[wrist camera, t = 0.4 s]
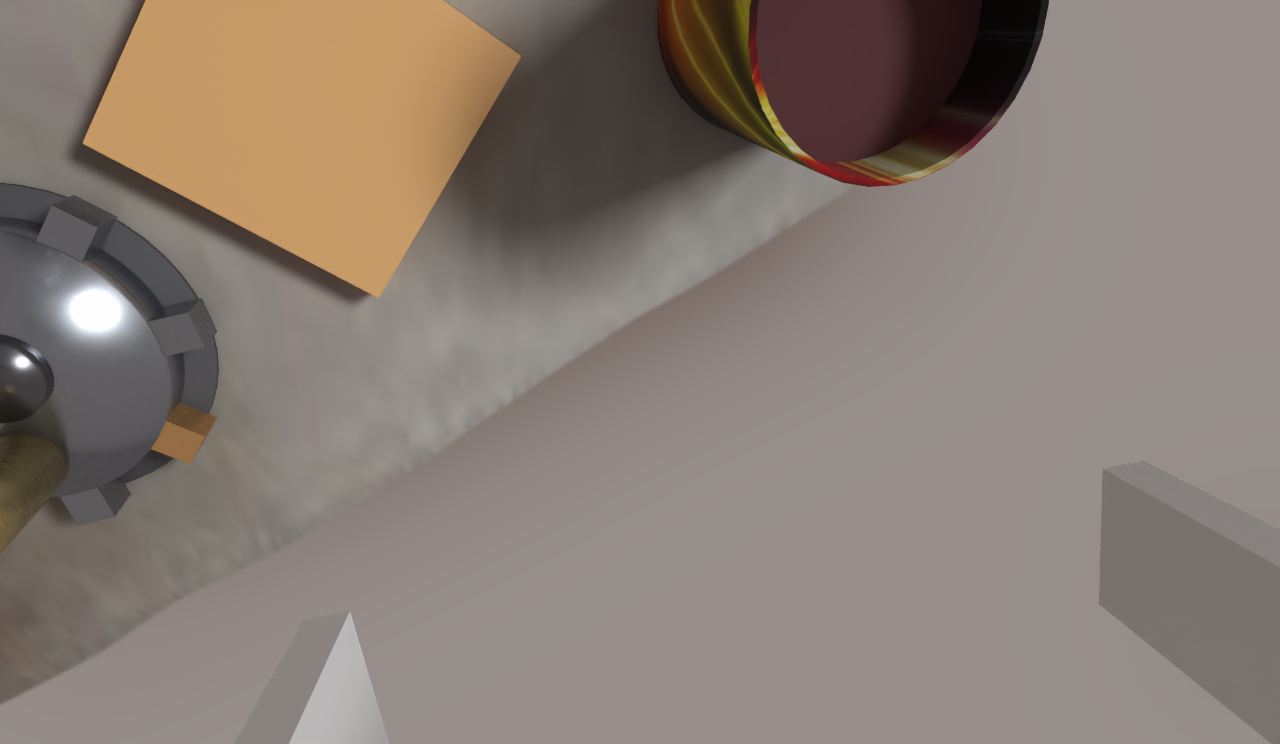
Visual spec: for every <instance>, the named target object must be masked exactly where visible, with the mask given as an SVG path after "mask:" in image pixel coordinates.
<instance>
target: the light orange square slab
mask: <svg viewBox="0 0 1280 744" xmlns="http://www.w3.org/2000/svg"><path fill="white" fill-rule="evenodd" d="M520 58H521V55H519V54H518V53H517V52H515V51H514V50H512V49H511V48H510V47H508V46H507V45H505V44H504V43H503V42H501V41H500V40H498V39H497V38H496V37H494V36H493V35H491V34H490V33H489V32H487V31H486V30H484V29H483V28H482V27H480V26H479V25H477V24H476V23H475V22H473V21H472V20H470V19H469V18H468V17H466V16H465V15H463V14H462V13H461V12H459V11H458V10H456V9H455V8H454V7H452V6H451V5H449V4H448V3H447V2H445V1H444V0H145V3H144V5H143V7H142V9H141V12H140V14H139V16H138V18H137V21H136V23H135V25H134V28H133V30H132V32H131V34H130V37H129V39H128V41H127V43H126V46H125V48H124V50H123V52H122V55H121V57H120V59H119V61H118V64H117V66H116V68H115V71H114V73H113V75H112V77H111V80H110V82H109V84H108V86H107V89H106V91H105V93H104V95H103V98H102V100H101V102H100V104H99V107H98V109H97V111H96V114H95V116H94V118H93V120H92V123H91V125H90V127H89V129H88V132H87V134H86V136H85V138H84V141H83V143H82V144H84V145H86V146H88V147H90V148H92V149H94V150H96V151H98V152H100V153H102V154H104V155H105V156H107V157H109V158H111V159H113V160H115V161H117V162H119V163H121V164H123V165H125V166H127V167H128V168H130V169H132V170H134V171H136V172H138V173H140V174H142V175H144V176H146V177H148V178H149V179H151V180H153V181H155V182H157V183H159V184H161V185H163V186H165V187H167V188H169V189H171V190H172V191H174V192H176V193H178V194H180V195H182V196H184V197H186V198H188V199H190V200H192V201H194V202H195V203H197V204H199V205H201V206H203V207H205V208H207V209H209V210H211V211H213V212H215V213H216V214H218V215H220V216H222V217H224V218H226V219H228V220H230V221H232V222H234V223H236V224H238V225H239V226H241V227H243V228H245V229H247V230H249V231H251V232H253V233H255V234H257V235H259V236H261V237H262V238H264V239H266V240H268V241H270V242H272V243H274V244H276V245H278V246H280V247H282V248H283V249H285V250H287V251H289V252H291V253H293V254H295V255H297V256H299V257H301V258H303V259H305V260H306V261H308V262H310V263H312V264H314V265H316V266H318V267H320V268H322V269H324V270H326V271H327V272H329V273H331V274H333V275H335V276H337V277H339V278H341V279H343V280H345V281H347V282H349V283H350V284H352V285H354V286H356V287H358V288H360V289H362V290H364V291H366V292H368V293H370V294H372V295H373V296H375V297H377V298H379V297H380V295H381V294H382V292H383V290H384V289H385V287H386V285H387V283H388V282H389V280H390V278H391V277H392V275H393V273H394V272H395V270H396V268H397V267H398V265H399V263H400V261H401V260H402V258H403V256H404V255H405V253H406V251H407V250H408V248H409V246H410V244H411V243H412V241H413V239H414V238H415V236H416V234H417V233H418V231H419V229H420V228H421V226H422V224H423V222H424V221H425V219H426V217H427V216H428V214H429V212H430V211H431V209H432V207H433V205H434V204H435V202H436V200H437V199H438V197H439V195H440V194H441V192H442V190H443V189H444V187H445V185H446V183H447V182H448V180H449V178H450V177H451V175H452V173H453V172H454V170H455V168H456V167H457V165H458V163H459V161H460V160H461V158H462V156H463V155H464V153H465V151H466V150H467V148H468V146H469V144H470V143H471V141H472V139H473V138H474V136H475V134H476V133H477V131H478V129H479V128H480V126H481V124H482V122H483V121H484V119H485V117H486V116H487V114H488V112H489V111H490V109H491V107H492V106H493V104H494V102H495V100H496V99H497V97H498V95H499V94H500V92H501V90H502V89H503V87H504V85H505V83H506V82H507V80H508V78H509V77H510V75H511V73H512V72H513V70H514V68H515V67H516V65H517V63H518V61H519V60H520Z"/></svg>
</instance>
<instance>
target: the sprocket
mask: <svg viewBox="0 0 1280 744" xmlns="http://www.w3.org/2000/svg"><path fill="white" fill-rule="evenodd" d="M116 218H117V216H115V215H113V214H111V213H109V212H107V211H105V210H103V209H101V208H99V207H97V206H95V205H93V204H91V203H89V202H87V201H85V200H83V199H81V198H79V197H77V196H75V195H73V196H71V197H69V198H67V199H65V200H62V201H60V202H58V203H56V204H54V205H52V206H51V208H50V210H49V213H48V215H47V217H46V219H45V222H44V224H41V223H37V222H32V221H27V220H22V219H17V218H10V217H0V554H1V553H2V552H3V551H4V550H5V549H6V547H7V546H8V545H9V544H10V543H11V542H12V541H13V539H14V538H15V537H16V536H17V535H18V534H19V533H20V531H21V530H22V529H23V528H24V527H25V526H26V525H27V523H28V522H29V521H30V520H31V519H32V518H33V517H34V515H35V514H36V513H37V512H38V511H39V510H40V509H41V507H42V506H43V505H44V504H45V503H46V502H47V501H48V499H49V498H55V497H60V498H61V500H62V501H63V503H64V504H65V506H66V507H67V509H68V511H69V512H70V514H71V515H72V517H73V518H74V520H75V521H76V523H77V525H82V524H86V523H90V522H94V521H98V520H102V519H106V518H110V517H114V516H116V514H117V513H118V511H119V510H120V509H121V507H122V506H123V504H124V503H125V502H126V500H127V499H128V497H129V496H130V495H131V493H130V492H129V490H128V488H127V486H126V485H125V483H124V481H123V480H122V478H121V475H123V474H124V473H126V472H127V471H129V470H130V469H131V468H132V467H134V466H135V465H136V464H137V463H138V462H140V461H141V459H142V458H143V457H144V456H145V455H146V454H147V453H148V452H149V451H150V449H152V450H155V451H157V452H160V453H163V454H165V455H168V456H170V457H173V458H175V459H178V460H181V461H183V462H186V463H188V464H190V463H191V461H192V460H193V458H194V457H195V455H196V453H197V452H198V450H199V449H200V447H201V445H202V444H203V442H204V440H205V438H206V437H207V435H208V433H209V431H210V429H211V428H212V426H213V424H214V422H215V420H216V418H217V417H215V416H212V415H210V414H207V413H205V412H203V411H200V410H198V409H196V408H193V407H191V406H188V405H186V404H184V403H181V402H180V401H181V397H182V393H183V389H184V380H185V365H184V355H183V352H186V351H191V350H195V349H200V348H204V347H205V346H206V345H207V344H208V342H209V341H210V340H211V339H212V337H213V336H214V335H215V334H216V332H217V330H216V328H215V325H214V323H213V321H212V319H211V317H210V315H209V313H208V310H207V308H206V306H205V304H204V302H203V300H202V298H200V299H196V300H191V301H187V302H182V303H177V304H173V305H168V306H164V307H163V305H162V304H161V303H160V301H159V300H158V299H157V297H156V296H155V295H154V293H153V292H152V291H151V290H150V289H149V288H148V287H147V286H146V285H145V283H144V282H143V281H142V280H141V279H140V278H139V277H138V276H137V275H136V274H134V273H133V272H132V271H131V270H130V269H128V268H127V267H126V266H125V265H124V264H122V263H121V262H120V261H119V260H117V259H116V258H114V257H113V256H111V255H110V254H108V253H107V252H105V251H104V250H102V248H103V246H104V244H105V242H106V240H107V237H108V235H109V233H110V231H111V229H112V227H113V225H114V222H115V220H116Z"/></svg>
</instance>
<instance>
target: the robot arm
mask: <svg viewBox="0 0 1280 744" xmlns="http://www.w3.org/2000/svg"><path fill="white" fill-rule="evenodd" d="M1102 481H1103V482H1102V516H1101V553H1100V554H1101V555H1100V588H1099V589H1100V590H1099V604H1100V605H1101V606H1102V607H1104V608H1105V609H1106V610H1107V611H1108V612H1109V613H1111V614H1112V615H1113V616H1115V617H1116V618H1117V619H1118V620H1119V621H1121V622H1122V623H1123V624H1124V625H1126V626H1127V627H1128V628H1129V629H1131V630H1132V631H1133V632H1134V633H1135V634H1137V635H1138V636H1139V637H1140V638H1142V639H1143V640H1144V641H1145V642H1147V643H1148V644H1149V645H1150V646H1152V647H1153V648H1154V649H1155V650H1156V651H1158V652H1159V653H1160V654H1161V655H1163V656H1164V657H1165V658H1166V659H1168V660H1169V661H1170V662H1171V663H1173V664H1174V665H1175V666H1176V667H1178V668H1179V669H1180V670H1181V671H1183V672H1184V673H1185V674H1186V675H1187V676H1189V677H1190V678H1191V679H1192V680H1193V681H1195V682H1196V683H1197V684H1198V685H1200V686H1201V687H1202V688H1203V689H1205V690H1206V691H1207V692H1208V693H1210V694H1211V695H1212V696H1213V697H1214V698H1216V699H1217V700H1218V701H1219V702H1221V703H1222V704H1223V705H1224V706H1226V707H1227V708H1228V709H1230V710H1231V711H1232V712H1233V713H1234V714H1236V715H1237V716H1238V717H1239V718H1240V719H1242V720H1243V721H1244V722H1245V723H1247V724H1248V725H1249V726H1250V727H1252V728H1253V729H1254V730H1255V731H1256V732H1258V733H1259V734H1260V735H1261V736H1263V737H1264V738H1265V739H1266V740H1268V741H1269V742H1270V743H1272V744H1280V529H1278V528H1275V527H1274V526H1272V525H1270V524H1268V523H1266V522H1264V521H1262V520H1260V519H1258V518H1256V517H1254V516H1252V515H1250V514H1248V513H1246V512H1244V511H1242V510H1240V509H1238V508H1236V507H1234V506H1232V505H1230V504H1228V503H1226V502H1224V501H1222V500H1220V499H1218V498H1216V497H1214V496H1212V495H1210V494H1208V493H1206V492H1204V491H1202V490H1200V489H1198V488H1197V487H1194V486H1193V485H1191V484H1188V483H1186V482H1185V481H1183V480H1180V479H1179V478H1177V477H1175V476H1173V475H1170V474H1168V473H1167V472H1165V471H1163V470H1161V469H1159V468H1157V467H1155V466H1153V465H1151V464H1148V463H1147V462H1145V461H1141V462H1135V463H1130V464H1125V465H1119V466H1114V467H1109V468H1103V480H1102ZM234 744H389V742H388V739H387V736H386V732H385V729H384V726H383V722H382V719H381V715H380V712H379V708H378V705H377V702H376V698H375V695H374V691H373V688H372V685H371V681H370V678H369V675H368V671H367V668H366V664H365V661H364V658H363V654H362V651H361V648H360V644H359V641H358V637H357V634H356V630H355V627H354V624H353V620H352V617H351V613H350V611H348V612H343V613H337V614H332V615H326V616H321V617H316V618H311V619H305V620H303V621H302V622H301V624H300V626H299V628H298V629H297V631H296V633H295V635H294V637H293V639H292V640H291V642H290V644H289V646H288V648H287V649H286V651H285V653H284V655H283V657H282V659H281V660H280V662H279V664H278V666H277V667H276V669H275V671H274V673H273V675H272V677H271V678H270V680H269V682H268V684H267V686H266V687H265V689H264V691H263V693H262V695H261V696H260V698H259V700H258V702H257V704H256V705H255V707H254V709H253V711H252V713H251V714H250V716H249V718H248V720H247V722H246V723H245V725H244V727H243V729H242V731H241V733H240V734H239V736H238V738H237V740H236V742H235V743H234Z"/></svg>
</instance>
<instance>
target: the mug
mask: <svg viewBox="0 0 1280 744" xmlns="http://www.w3.org/2000/svg"><path fill="white" fill-rule="evenodd" d="M1048 4H1049V0H659V6H658V38H659V44H660V50H661V55H662V59H663V62H664V64H665V67H666V70H667V72H668V75H669V78H670V80H671V81H672V83H673V85H674V86H675V88H676V89H677V91H678V93H679V94H680V96H681V97H682V99H683V100H684V101H685V102H686V103H687V104H688V105H689V106H690V107H691V108H692V109H693V110H694V111H695V112H696V113H697V114H699V115H700V116H701V117H703V118H704V119H706V120H707V121H709V122H710V123H711V124H714V125H716V126H718V127H720V128H722V129H724V130H727V131H729V132H731V133H733V134H735V135H738V136H740V137H742V138H744V139H746V140H748V141H751V142H753V143H755V144H757V145H759V146H761V147H764V148H766V149H768V150H770V151H772V152H775V153H777V154H779V155H781V156H783V157H785V158H788V159H790V160H792V161H794V162H796V163H799V164H801V165H803V166H805V167H807V168H809V169H812V170H814V171H816V172H818V173H821V174H823V175H825V176H828V177H830V178H833V179H835V180H838V181H840V182H843V183H849V184H855V185H861V186H867V187H871V186H872V187H873V186H888V185H889V186H890V185H898V184H902V183H905V182H909V181H913V180H917V179H920V178H923V177H925V176H927V175H929V174H931V173H934V172H936V171H938V170H940V169H942V168H944V167H946V166H948V165H950V164H951V163H952V162H954V161H955V160H957V159H958V158H959V157H961V156H962V155H964V154H965V153H966V152H968V151H969V150H971V149H972V148H973V147H974V146H975V145H976V144H977V143H978V142H979V141H980V140H981V139H982V138H983V137H984V136H985V135H986V134H987V133H988V132H989V131H990V130H991V129H992V128H993V127H994V126H995V125H996V124H997V123H998V121H999V120H1000V118H1001V117H1002V116H1003V114H1004V113H1005V112H1006V110H1007V109H1008V108H1009V106H1010V105H1011V104H1012V102H1013V101H1014V100H1015V98H1016V96H1017V94H1018V92H1019V90H1020V88H1021V86H1022V84H1023V83H1024V81H1025V79H1026V77H1027V75H1028V73H1029V72H1030V70H1031V67H1032V64H1033V61H1034V58H1035V56H1036V53H1037V50H1038V47H1039V44H1040V42H1041V39H1042V35H1043V30H1044V25H1045V19H1046V15H1047V10H1048Z"/></svg>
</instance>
